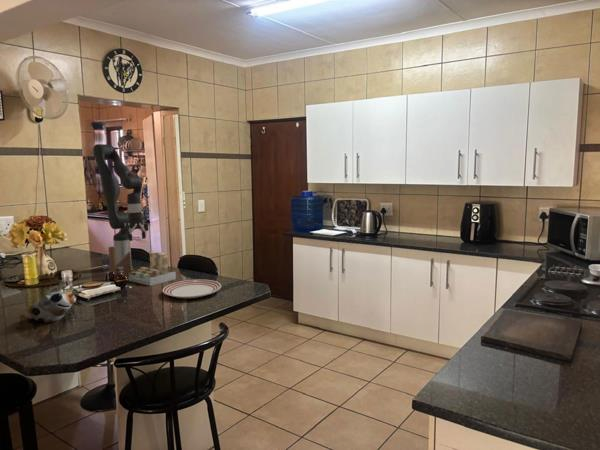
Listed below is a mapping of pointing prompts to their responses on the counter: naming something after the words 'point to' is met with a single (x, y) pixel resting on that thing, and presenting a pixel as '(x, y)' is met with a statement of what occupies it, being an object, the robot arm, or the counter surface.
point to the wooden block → (124, 262)
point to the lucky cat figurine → (52, 306)
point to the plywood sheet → (159, 262)
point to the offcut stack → (147, 272)
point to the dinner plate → (192, 288)
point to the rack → (152, 278)
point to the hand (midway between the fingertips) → (137, 239)
